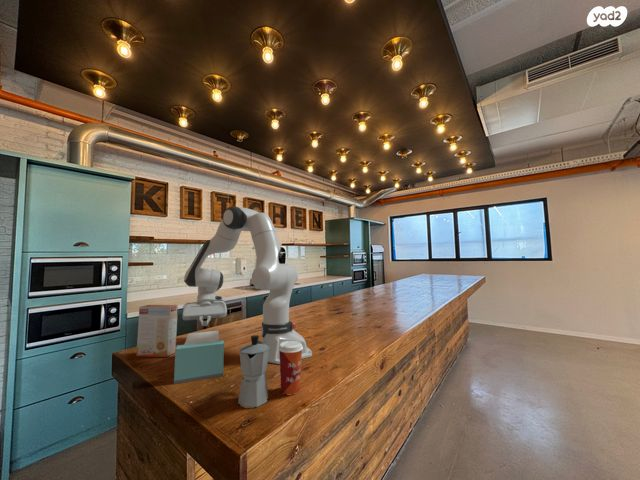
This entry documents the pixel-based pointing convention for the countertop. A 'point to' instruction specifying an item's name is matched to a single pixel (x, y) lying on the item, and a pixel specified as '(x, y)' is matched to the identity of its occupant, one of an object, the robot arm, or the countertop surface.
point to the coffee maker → (253, 373)
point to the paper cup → (290, 366)
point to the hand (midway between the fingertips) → (204, 325)
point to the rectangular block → (198, 361)
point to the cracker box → (157, 330)
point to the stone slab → (202, 337)
